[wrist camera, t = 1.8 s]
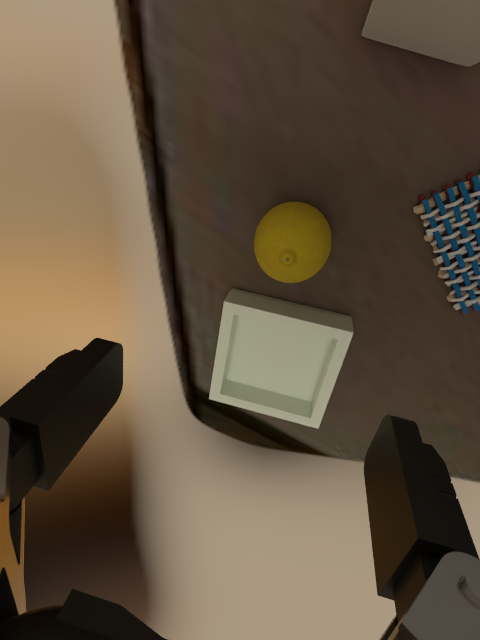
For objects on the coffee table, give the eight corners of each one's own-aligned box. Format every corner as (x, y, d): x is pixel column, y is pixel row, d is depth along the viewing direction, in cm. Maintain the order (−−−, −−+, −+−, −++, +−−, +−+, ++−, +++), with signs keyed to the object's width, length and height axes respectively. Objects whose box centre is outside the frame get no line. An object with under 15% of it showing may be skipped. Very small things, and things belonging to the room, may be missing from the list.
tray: (351, 316, 32) (353, 332, 30) (318, 408, 38) (318, 428, 35) (232, 287, 34) (224, 301, 31) (216, 380, 39) (208, 398, 36)
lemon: (271, 266, 32) (256, 305, 25) (256, 203, 30) (234, 225, 23) (336, 254, 30) (339, 292, 23) (325, 185, 28) (324, 204, 21)
